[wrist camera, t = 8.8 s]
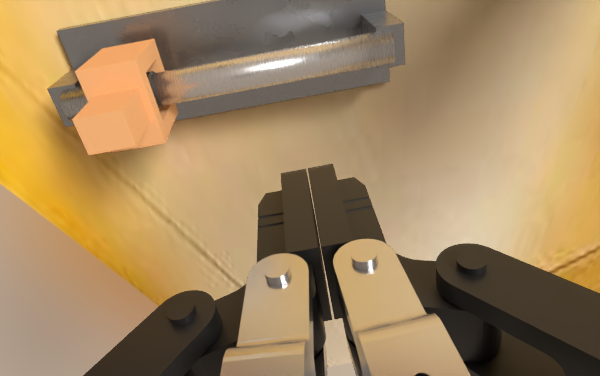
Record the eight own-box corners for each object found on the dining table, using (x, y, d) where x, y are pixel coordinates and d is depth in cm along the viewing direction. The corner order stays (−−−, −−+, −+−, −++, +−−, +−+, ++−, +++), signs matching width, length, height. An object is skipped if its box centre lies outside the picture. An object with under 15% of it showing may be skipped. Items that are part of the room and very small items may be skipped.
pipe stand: (380, -32, 35) (407, -21, 29) (387, 78, 40) (411, 108, 34) (60, 28, 35) (18, 52, 29) (104, 130, 40) (75, 169, 34)
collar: (154, 38, 34) (118, 79, 25) (178, 111, 37) (153, 170, 28) (102, 48, 34) (49, 91, 25) (130, 120, 37) (92, 181, 28)
